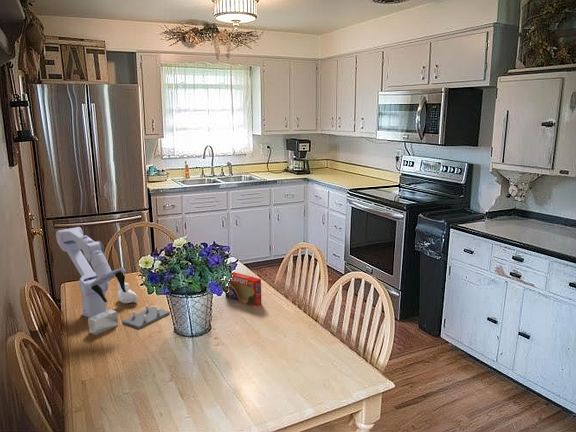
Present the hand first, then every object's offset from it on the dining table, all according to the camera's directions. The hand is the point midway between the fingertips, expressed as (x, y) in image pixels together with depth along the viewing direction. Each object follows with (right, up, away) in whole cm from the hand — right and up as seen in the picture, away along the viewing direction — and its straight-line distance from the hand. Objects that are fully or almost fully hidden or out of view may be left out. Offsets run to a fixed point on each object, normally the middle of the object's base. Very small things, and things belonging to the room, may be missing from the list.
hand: (115, 296), depth 172 cm
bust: (-6, -8, +29) cm, 31 cm away
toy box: (+46, -7, +29) cm, 55 cm away
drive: (-6, -13, +4) cm, 15 cm away
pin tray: (+8, -11, +12) cm, 19 cm away
